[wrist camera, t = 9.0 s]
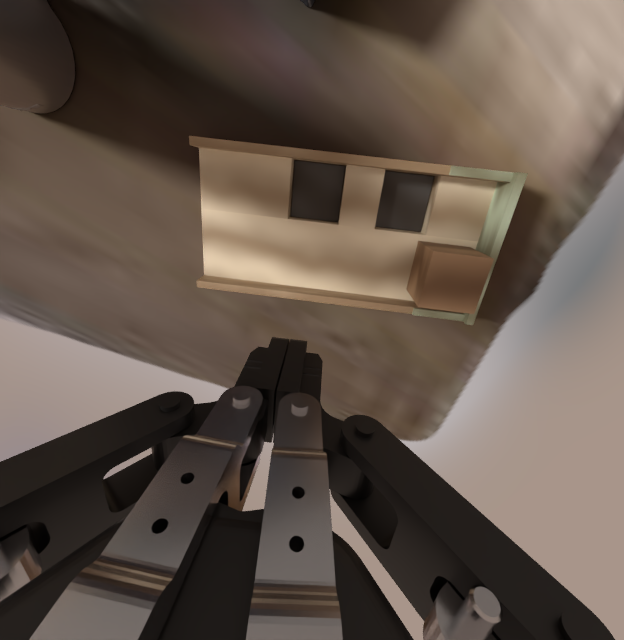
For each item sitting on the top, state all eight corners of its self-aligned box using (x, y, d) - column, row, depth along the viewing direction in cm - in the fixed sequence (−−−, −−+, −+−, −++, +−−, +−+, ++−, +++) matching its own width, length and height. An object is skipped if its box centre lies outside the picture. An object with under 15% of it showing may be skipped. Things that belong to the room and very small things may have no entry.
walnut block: (418, 240, 30) (433, 251, 25) (469, 246, 30) (494, 258, 25) (406, 289, 32) (417, 307, 27) (454, 295, 32) (474, 314, 27)
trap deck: (207, 141, 29) (183, 134, 25) (497, 174, 29) (527, 173, 24) (211, 276, 35) (192, 290, 30) (454, 306, 34) (473, 325, 30)
